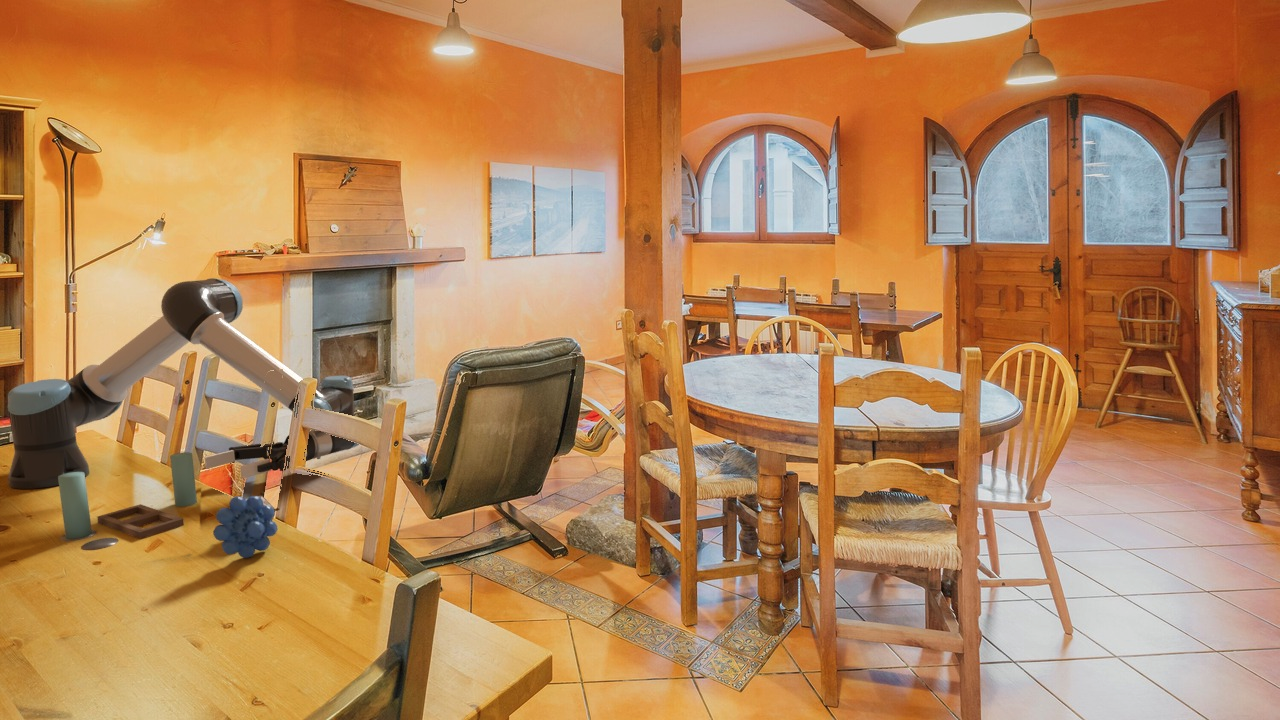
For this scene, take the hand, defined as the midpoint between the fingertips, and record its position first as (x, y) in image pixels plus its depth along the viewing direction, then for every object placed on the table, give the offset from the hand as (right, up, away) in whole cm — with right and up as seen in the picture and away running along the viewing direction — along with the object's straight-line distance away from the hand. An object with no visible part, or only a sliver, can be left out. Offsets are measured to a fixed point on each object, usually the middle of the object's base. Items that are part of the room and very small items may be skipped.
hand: (223, 467), depth 164 cm
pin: (-14, -10, -23) cm, 29 cm away
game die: (+17, -11, -20) cm, 28 cm away
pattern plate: (-10, -11, -24) cm, 29 cm away
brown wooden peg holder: (-6, -10, -17) cm, 21 cm away
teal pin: (-4, -8, -6) cm, 11 cm away
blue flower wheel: (+23, -12, -30) cm, 40 cm away
